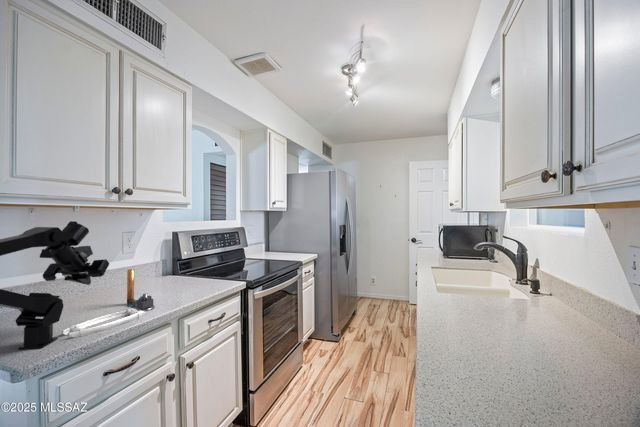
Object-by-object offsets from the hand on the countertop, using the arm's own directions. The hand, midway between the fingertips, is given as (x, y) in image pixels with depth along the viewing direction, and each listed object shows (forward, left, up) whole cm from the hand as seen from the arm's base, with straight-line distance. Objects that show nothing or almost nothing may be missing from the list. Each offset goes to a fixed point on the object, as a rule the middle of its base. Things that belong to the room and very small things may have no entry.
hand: (89, 283), depth 107 cm
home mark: (+17, -7, -14) cm, 23 cm away
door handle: (-4, -9, -14) cm, 17 cm away
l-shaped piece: (+15, -10, -13) cm, 23 cm away
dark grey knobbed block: (+12, -14, -14) cm, 23 cm away
